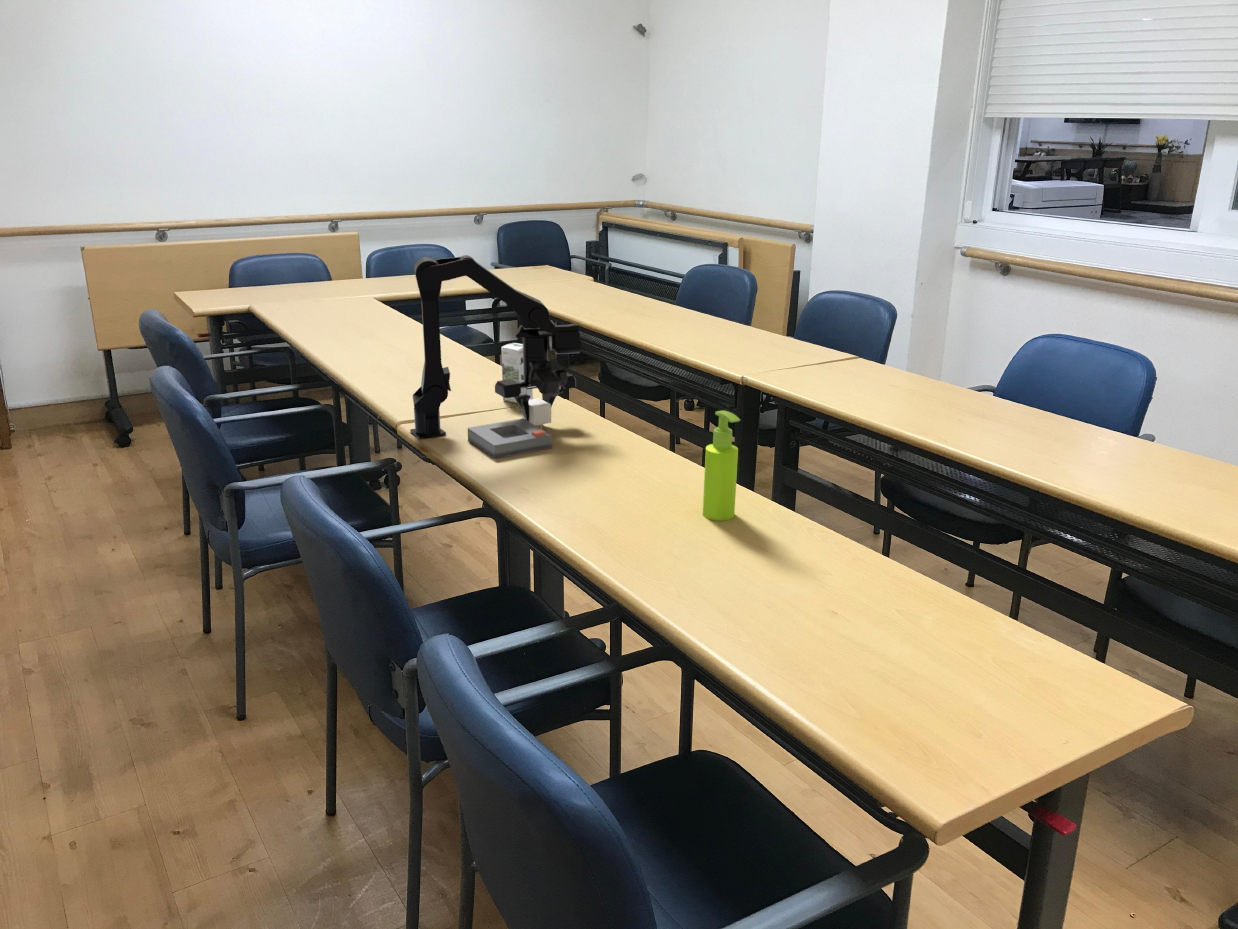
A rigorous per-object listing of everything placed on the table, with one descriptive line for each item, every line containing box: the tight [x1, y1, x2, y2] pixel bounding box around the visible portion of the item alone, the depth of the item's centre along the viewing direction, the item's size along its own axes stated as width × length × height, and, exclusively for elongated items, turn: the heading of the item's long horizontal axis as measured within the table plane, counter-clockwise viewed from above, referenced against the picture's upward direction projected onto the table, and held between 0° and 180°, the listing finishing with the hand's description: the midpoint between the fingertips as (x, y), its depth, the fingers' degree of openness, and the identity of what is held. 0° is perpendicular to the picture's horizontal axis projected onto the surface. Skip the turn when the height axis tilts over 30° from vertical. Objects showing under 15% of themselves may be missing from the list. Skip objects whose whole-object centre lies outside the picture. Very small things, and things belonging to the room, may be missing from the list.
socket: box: [467, 418, 553, 459], centre depth 213 cm, size 14×14×4 cm
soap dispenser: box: [702, 410, 741, 521], centre depth 174 cm, size 6×7×20 cm
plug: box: [521, 397, 552, 430], centre depth 224 cm, size 6×5×6 cm
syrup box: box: [500, 342, 534, 405], centre depth 243 cm, size 6×6×14 cm
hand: (536, 419), depth 225 cm, fingers closed on plug, 5 cm apart
